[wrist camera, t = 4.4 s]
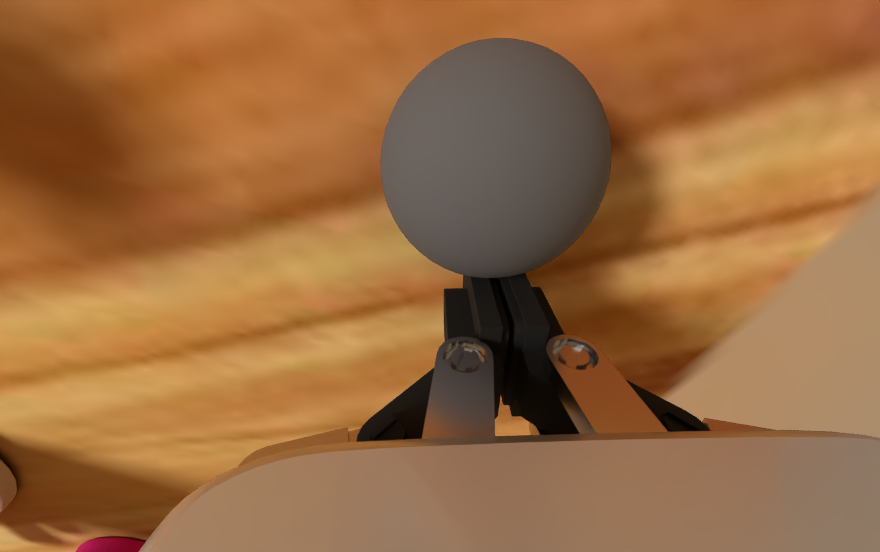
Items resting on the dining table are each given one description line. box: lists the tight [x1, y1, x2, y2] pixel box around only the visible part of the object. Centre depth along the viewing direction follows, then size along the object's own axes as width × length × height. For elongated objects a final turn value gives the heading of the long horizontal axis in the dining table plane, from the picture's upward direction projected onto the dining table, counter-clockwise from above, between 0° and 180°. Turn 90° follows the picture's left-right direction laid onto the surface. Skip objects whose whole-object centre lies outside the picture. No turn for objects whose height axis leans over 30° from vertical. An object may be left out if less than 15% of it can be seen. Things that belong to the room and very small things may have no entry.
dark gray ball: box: [381, 38, 611, 278], centre depth 9 cm, size 6×6×6 cm
